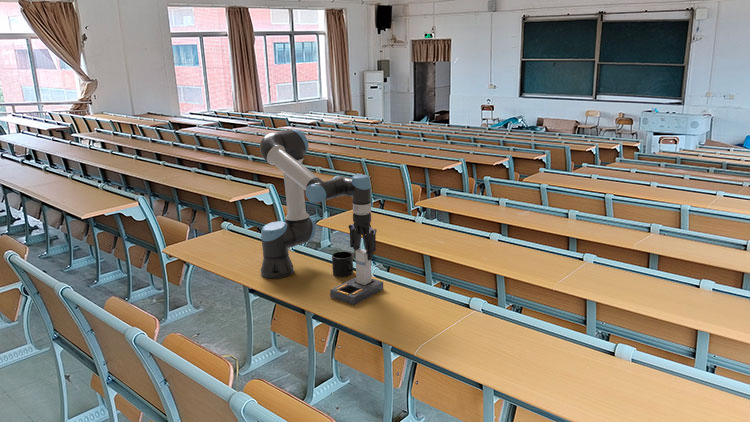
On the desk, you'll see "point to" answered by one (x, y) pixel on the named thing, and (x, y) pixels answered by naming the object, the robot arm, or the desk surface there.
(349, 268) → the mug
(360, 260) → the plug
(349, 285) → the jack panel
